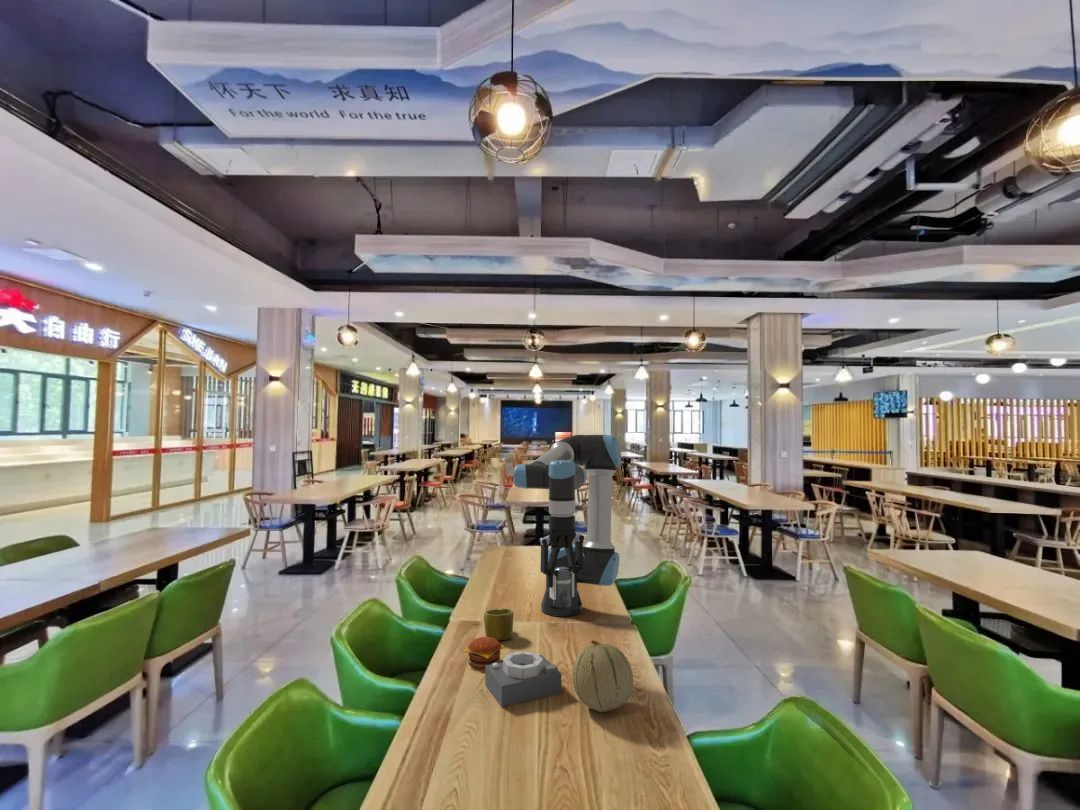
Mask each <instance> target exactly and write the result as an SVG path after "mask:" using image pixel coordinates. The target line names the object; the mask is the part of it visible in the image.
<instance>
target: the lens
mask: <svg viewBox="0 0 1080 810" xmlns="http://www.w3.org/2000/svg"><path fill="white" fill-rule="evenodd" d="M554 575H555V576H556V600H553V606H554V607H557V608H568V607H570V606H571V569H570V568H567V567H557V568H555V571H554Z"/></svg>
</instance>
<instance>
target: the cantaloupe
mask: <svg viewBox="0 0 1080 810" xmlns="http://www.w3.org/2000/svg"><path fill="white" fill-rule="evenodd" d="M590 643H591V644H592V645H589V646H586V647H585V648H583V649H582V650H581V651H580V652H579V653H578V655H576V657H575V660H574V663H573V665H572V671H571V676H572V678H571V679H572V686H573V688H574V691H575V694H576V696H577V698H578V699H579V700H580V702H581V703H582V704H583V705H585V707H588V709H591V710H592V711H596V712H599V713H605V712H611V711H613V710H617V709H619V708H621V707H622V706H624V705H625V704H626V703H627V702H628V701H629V699H630V697H631V695H632V691H633V688H634V675H633V671H632V670H633V669H632V666H631V663H630V662H629V659H627V657H626V656H625V654H624V652H623V651H621V650H620V649H619V648H618V647H616V646H615V645H611V644H607V643H599V641H597V640H593V639H592V640H591V642H590Z"/></svg>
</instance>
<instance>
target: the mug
mask: <svg viewBox="0 0 1080 810" xmlns="http://www.w3.org/2000/svg"><path fill="white" fill-rule="evenodd" d="M483 621H484V633H485V637H491V638H495V639H496V640H497V641H498V642H501V641H506V640H511V639H512V638H513V635H514V627H513V626H514V625H513V624H514V611H513V610H512V609H510V608H504V607H498V608H495V609H489V610H486V611H485V612H484V615H483Z"/></svg>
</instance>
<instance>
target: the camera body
mask: <svg viewBox="0 0 1080 810" xmlns="http://www.w3.org/2000/svg"><path fill="white" fill-rule="evenodd" d="M485 687H486V688H487V689H488V691H489V692H490V693H491V695H492V696H493V698H494V699H495V701H496V702H497V703H498V704H499V706H500V707H501V708H506V707H511V706H514V705H519V704H521V703H522V704H523V703H526V702H531V701H535V700H539V699H544V698H548V697H553V696H558V695H562V673H561V671H559V667H558V666H557V665H556V664H554V663H551V662H550V661H549V660H547V658H546V657H544V656H543V655H542V654H538V653H536V652H531V651H525V650H523V651H521V650H520V651H515V652H511V653H508V654H507V655H505V657H504V658H503V659H502V662H500V663H493V664H491V665H486V669H485Z"/></svg>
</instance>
